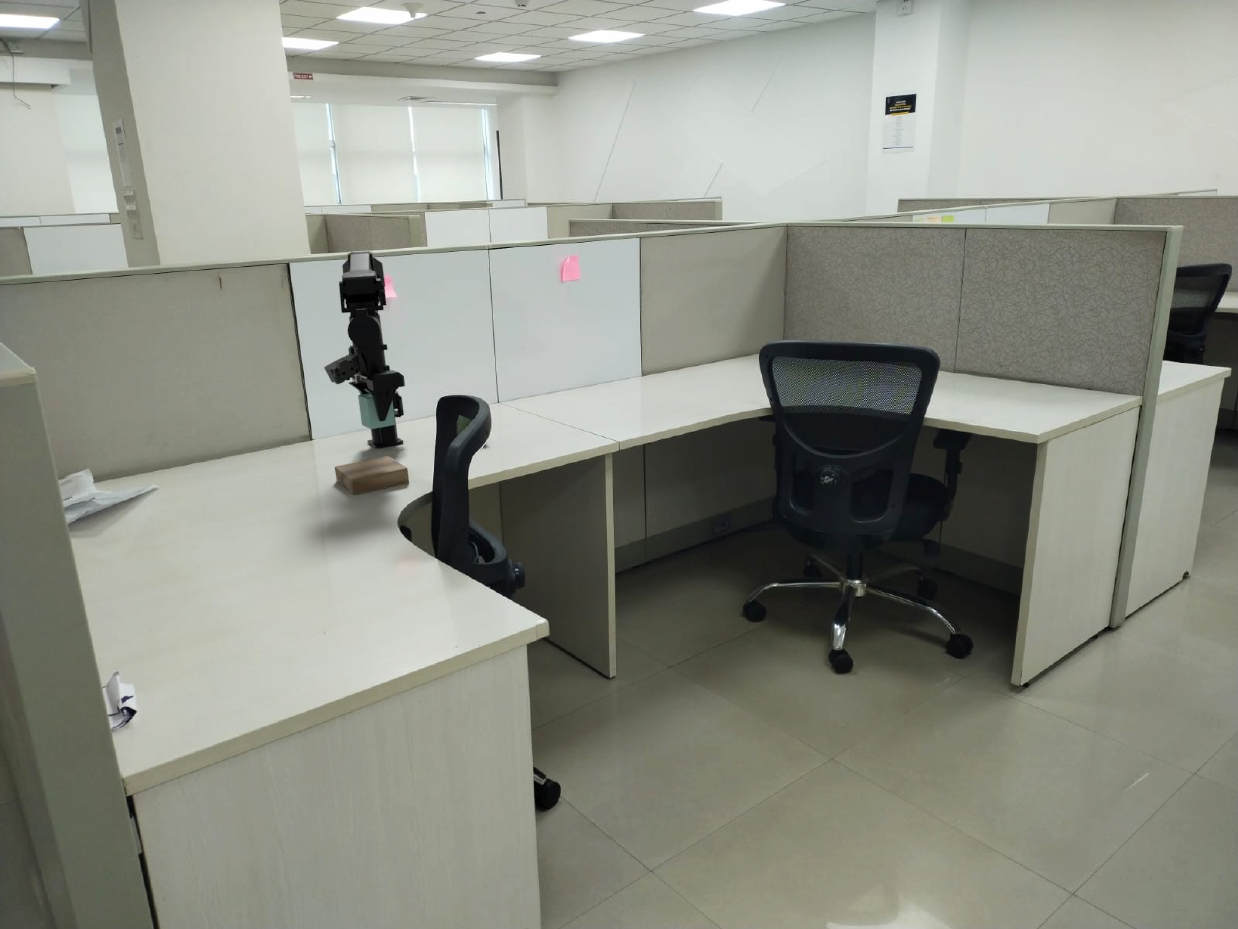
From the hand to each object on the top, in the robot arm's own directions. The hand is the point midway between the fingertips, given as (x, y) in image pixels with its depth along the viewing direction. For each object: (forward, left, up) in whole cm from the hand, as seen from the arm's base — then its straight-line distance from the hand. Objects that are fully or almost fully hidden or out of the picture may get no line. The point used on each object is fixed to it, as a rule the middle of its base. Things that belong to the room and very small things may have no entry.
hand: (377, 418), depth 174 cm
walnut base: (+1, -3, -12) cm, 13 cm away
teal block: (0, 0, -1) cm, 1 cm away
